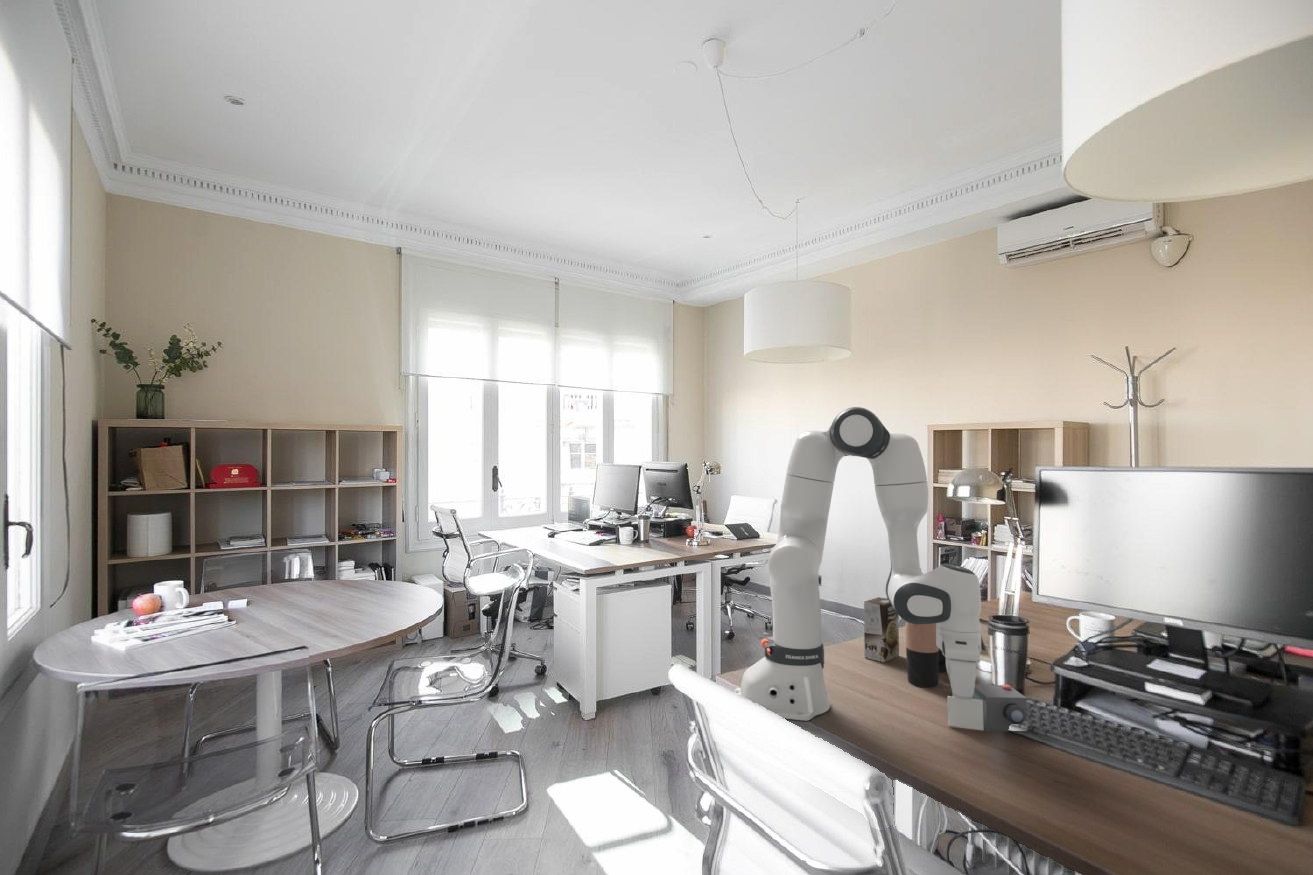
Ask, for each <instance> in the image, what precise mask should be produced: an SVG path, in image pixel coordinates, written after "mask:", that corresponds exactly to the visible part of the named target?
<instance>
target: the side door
mask: <svg viewBox="0 0 1313 875" xmlns="http://www.w3.org/2000/svg"><path fill="white" fill-rule="evenodd" d="M947 725H948V726H949V727H957V728H964V729H971V730H977V731H978V730H979V731H984V732H988V731H987V704H986V701H985V700H977V699H972V700H967V699H960V698H955V697H953V695H951V696H950V695H947Z"/></svg>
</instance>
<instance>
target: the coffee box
mask: <svg viewBox="0 0 1313 875" xmlns="http://www.w3.org/2000/svg"><path fill="white" fill-rule="evenodd" d="M863 612H864V613H863V616H864V617H863V618H864V619H863V623H864V624H863V626H864V627H863V629H864V632H863V633H864V634H863V636H864V637H863V638H864V639H863V640H864V643H863V644H864V648H863V649H864V658H865V657H867V658H866V659H868V660H869V659H870V660H873V661H876V662H877V661H878V662H880V661H881V662H880V663H883V662H884V663H887V662H889V661H890V660H893V659H895V657H896V658H898V657H900V632H899V631H900V630H899V629H900V624H899V618H900V616H899V615H898V614H897V612H896V611H895V609H894V607H893V606H892V605H891V604H890V602H889V601H888V599H887V597H886V598H885V597H881V596H880V597H879V596H878V597H875V598H872V599H869V600H866V601H864V602H863ZM897 656H898V657H897ZM886 661H887V662H886Z"/></svg>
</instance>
